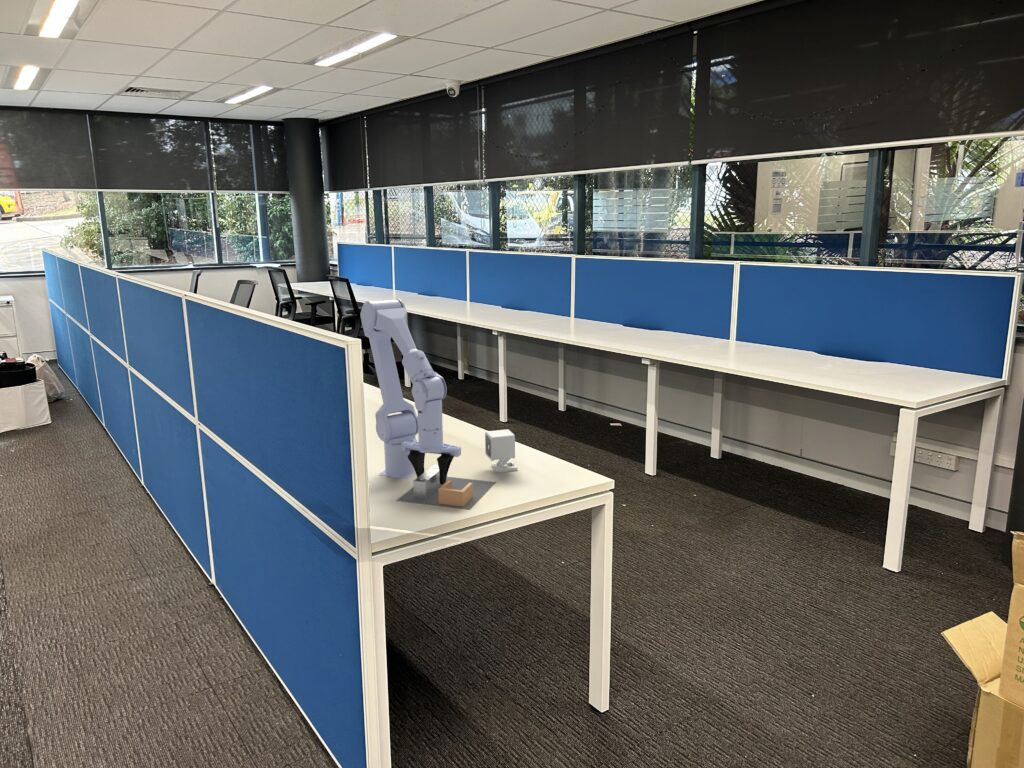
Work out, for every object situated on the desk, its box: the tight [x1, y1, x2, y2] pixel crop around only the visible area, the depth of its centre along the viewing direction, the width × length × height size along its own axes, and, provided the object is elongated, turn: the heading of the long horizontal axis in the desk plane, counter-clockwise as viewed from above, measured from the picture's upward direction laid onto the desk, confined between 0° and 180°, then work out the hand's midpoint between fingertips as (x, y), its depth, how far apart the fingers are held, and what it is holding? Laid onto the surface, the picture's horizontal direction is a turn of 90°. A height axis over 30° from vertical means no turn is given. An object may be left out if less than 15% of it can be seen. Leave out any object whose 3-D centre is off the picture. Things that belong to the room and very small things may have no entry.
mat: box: [396, 476, 497, 511], centre depth 175 cm, size 18×18×1 cm
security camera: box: [484, 428, 518, 473], centre depth 189 cm, size 6×7×10 cm
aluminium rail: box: [412, 463, 441, 499], centre depth 176 cm, size 12×3×4 cm, turn 162°
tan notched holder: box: [438, 480, 473, 507], centre depth 169 cm, size 6×6×4 cm
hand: (432, 482), depth 177 cm, fingers open, 5 cm apart
